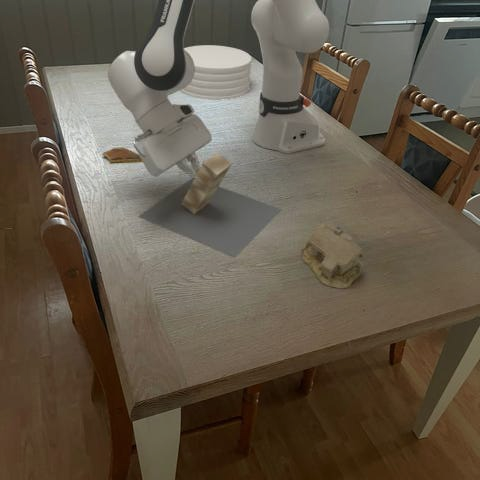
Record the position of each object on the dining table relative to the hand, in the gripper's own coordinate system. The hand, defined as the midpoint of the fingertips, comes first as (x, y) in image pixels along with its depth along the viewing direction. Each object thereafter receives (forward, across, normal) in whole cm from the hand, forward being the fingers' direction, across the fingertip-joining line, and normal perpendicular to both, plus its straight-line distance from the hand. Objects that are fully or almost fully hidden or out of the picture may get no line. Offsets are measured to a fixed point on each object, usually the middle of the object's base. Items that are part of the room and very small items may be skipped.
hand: (197, 174), depth 106 cm
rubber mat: (+10, 0, +4) cm, 10 cm away
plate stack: (-24, +73, +37) cm, 85 cm away
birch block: (+5, 0, +6) cm, 8 cm away
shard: (-15, +10, +29) cm, 35 cm away
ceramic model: (+31, -1, -18) cm, 36 cm away
